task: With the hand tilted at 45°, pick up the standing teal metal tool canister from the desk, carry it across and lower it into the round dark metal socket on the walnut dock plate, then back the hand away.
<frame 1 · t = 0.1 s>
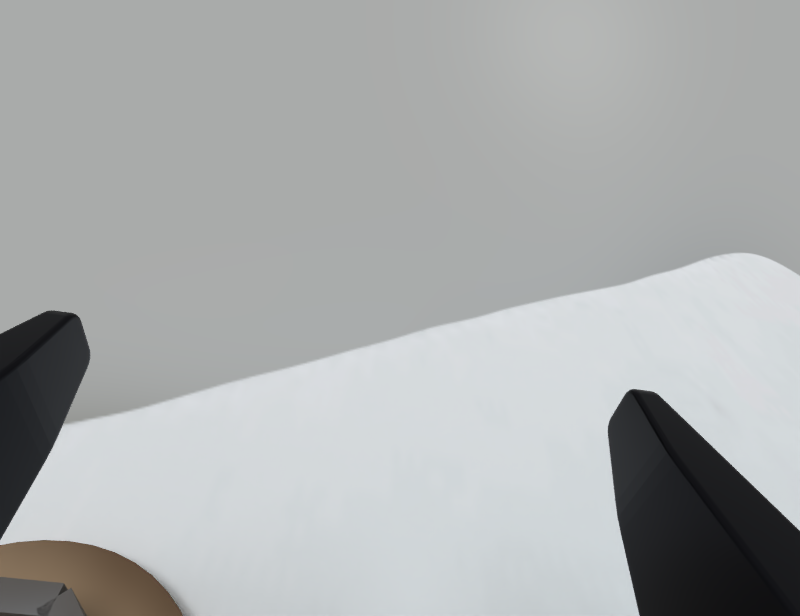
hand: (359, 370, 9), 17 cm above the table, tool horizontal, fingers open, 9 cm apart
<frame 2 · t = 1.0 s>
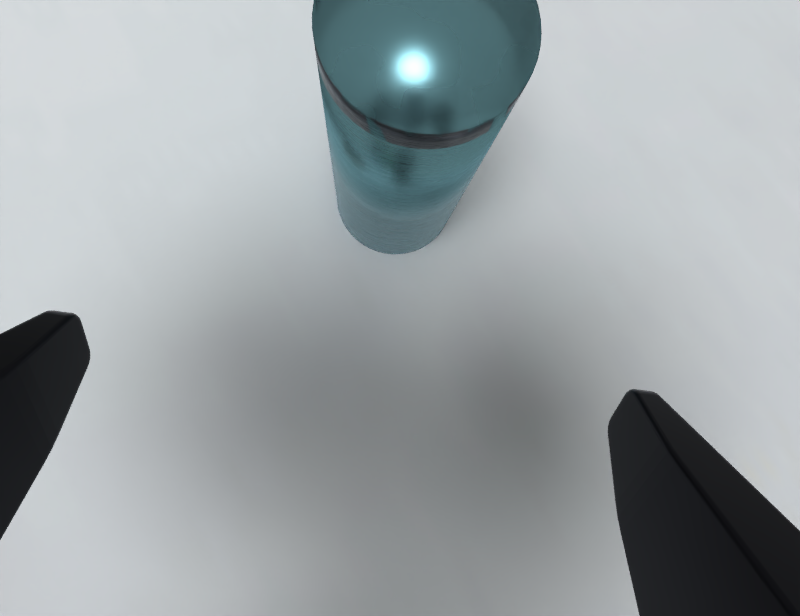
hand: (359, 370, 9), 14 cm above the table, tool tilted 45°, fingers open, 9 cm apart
tool canister: (394, 198, 24), on the table
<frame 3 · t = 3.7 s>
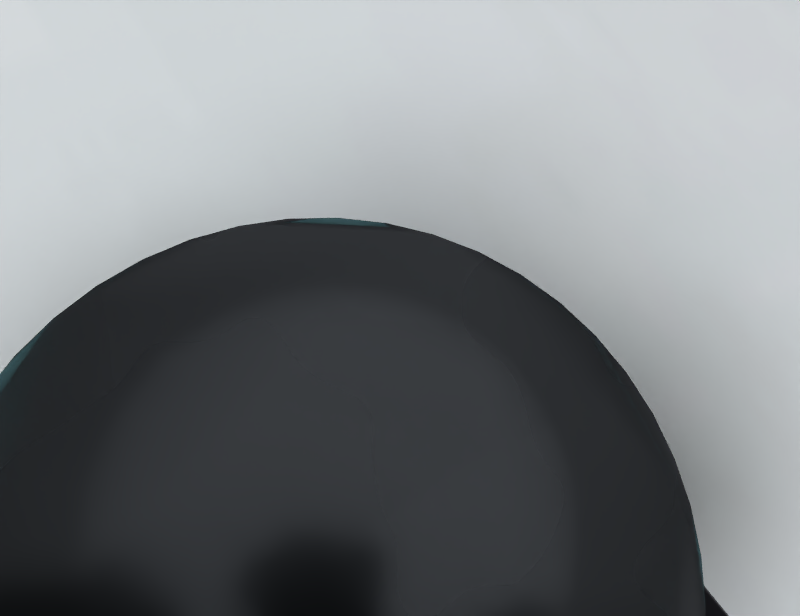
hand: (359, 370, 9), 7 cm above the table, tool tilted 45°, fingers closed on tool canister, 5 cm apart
tool canister: (353, 414, 15), on the table, touching gripper
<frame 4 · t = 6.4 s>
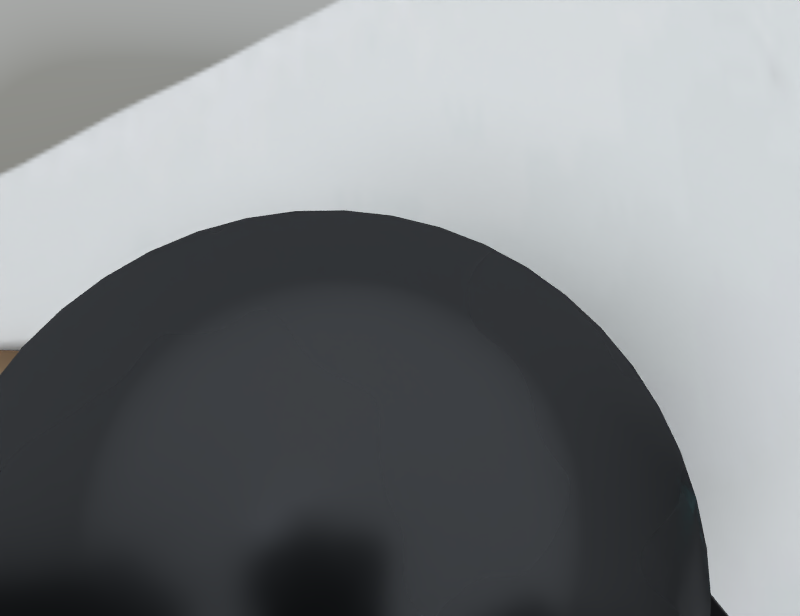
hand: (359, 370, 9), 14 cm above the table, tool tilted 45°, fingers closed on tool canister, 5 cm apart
tool canister: (355, 412, 15), point 7 cm above the table, touching gripper
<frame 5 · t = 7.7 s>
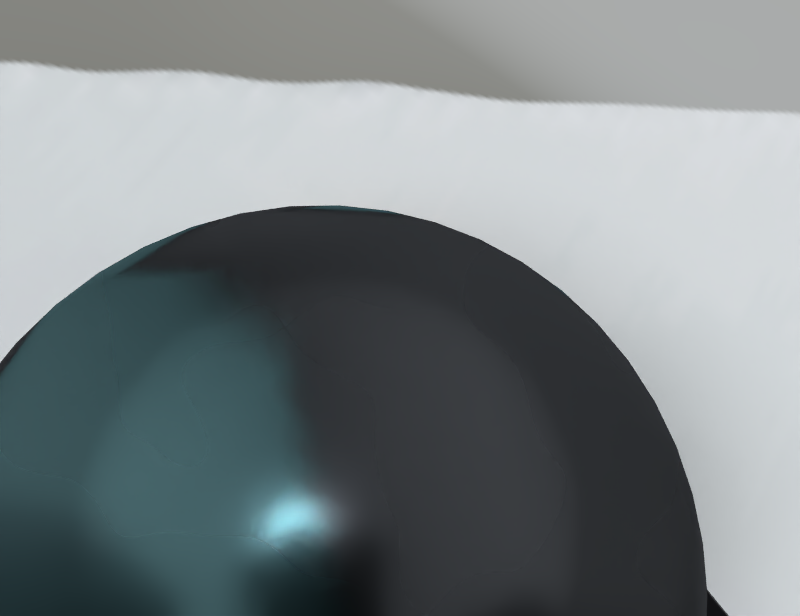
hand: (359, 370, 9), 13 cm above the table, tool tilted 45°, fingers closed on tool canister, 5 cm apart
tool canister: (354, 411, 15), point 7 cm above the table, touching gripper
when the fingers open (9 cm above the table, at t = 9.0 s): tool canister drops 1 cm, resting on socket dock.
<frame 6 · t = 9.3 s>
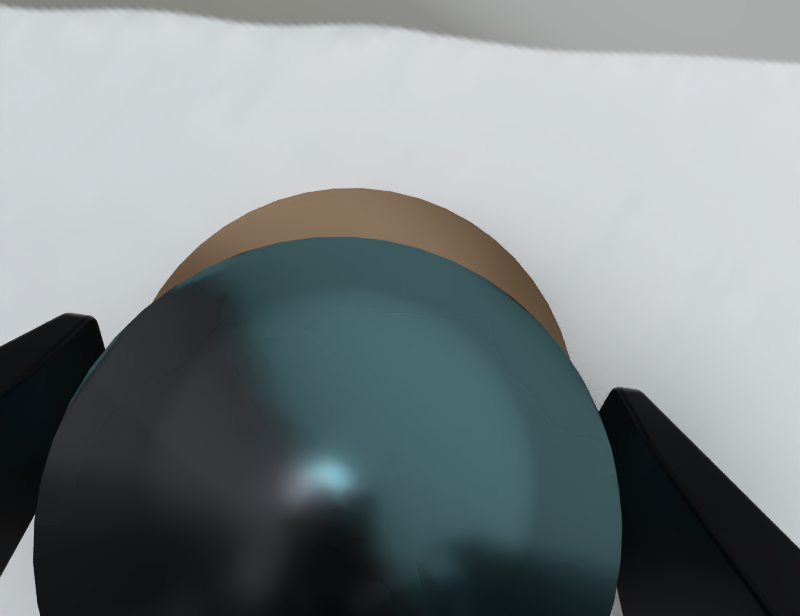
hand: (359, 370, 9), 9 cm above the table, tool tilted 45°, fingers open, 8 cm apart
socket dock: (355, 406, 18), on the table
tool canister: (354, 410, 17), point 1 cm above the table, touching socket dock
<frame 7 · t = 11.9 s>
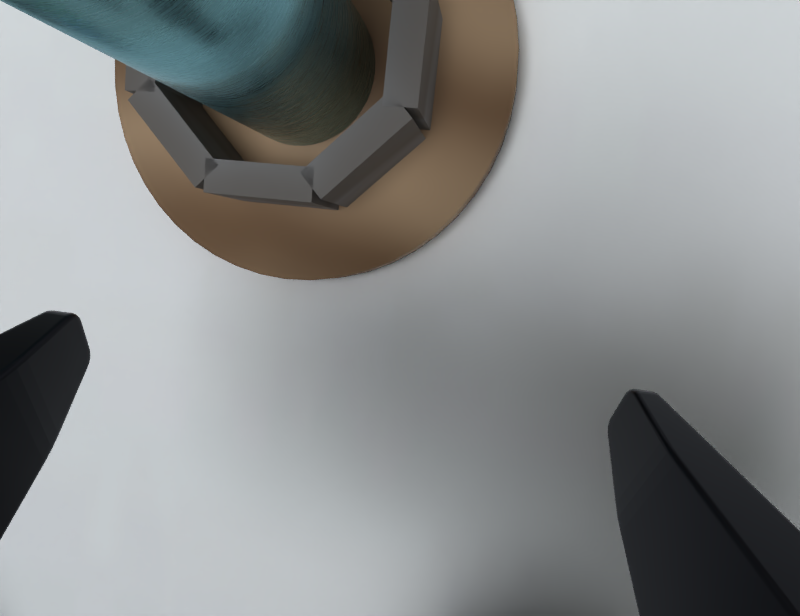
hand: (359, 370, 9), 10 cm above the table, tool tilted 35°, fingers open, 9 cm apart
socket dock: (314, 79, 19), on the table
tool canister: (301, 68, 18), point 1 cm above the table, touching socket dock
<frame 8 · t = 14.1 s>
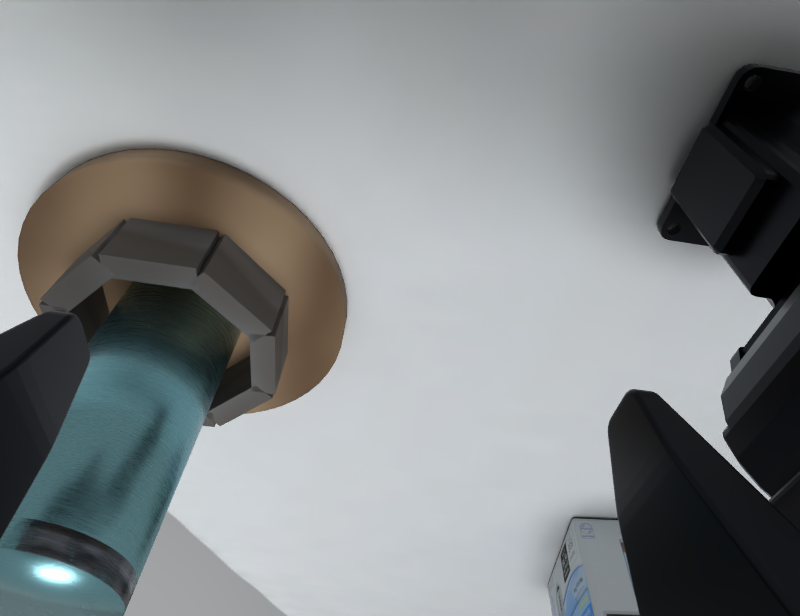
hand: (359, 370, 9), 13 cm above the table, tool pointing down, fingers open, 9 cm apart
light bulb box: (603, 553, 38), on the table
socket dock: (195, 295, 25), on the table
tool canister: (186, 311, 24), point 1 cm above the table, touching socket dock
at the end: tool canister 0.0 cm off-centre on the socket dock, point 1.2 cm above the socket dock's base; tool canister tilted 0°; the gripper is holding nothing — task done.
